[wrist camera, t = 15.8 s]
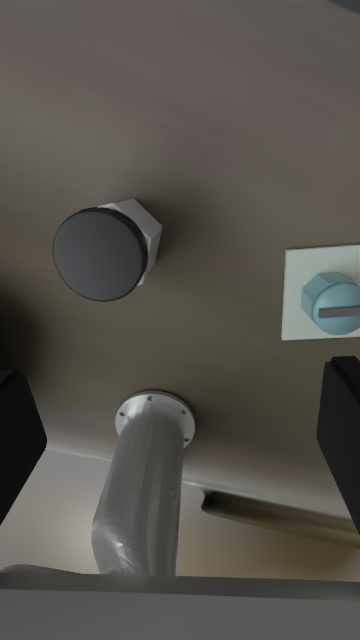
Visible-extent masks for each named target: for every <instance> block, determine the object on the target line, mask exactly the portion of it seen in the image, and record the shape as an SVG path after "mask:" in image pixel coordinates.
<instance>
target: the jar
mask: <svg viewBox="0 0 360 640" xmlns="http://www.w3.org/2000/svg"><path fill="white" fill-rule="evenodd" d="M161 232H162V225H161V224H160V223H159V222H158V221H157V220H156V219H154V218H153V217H152V216H151V215H150V214H149V213H148V212H147V211H146V210H145V209H144V208H143V207H142V206H141V205H140V204H139V203H138V202H137V201H136V200H135V199H129V200H124V201H120V202H112V203H108V204H105V205H102V206H99V207H92V208H87V209H83V210H80V211H78V212H77V213H75V214H73V215H71V216H70V217H68V218H67V219H66V220H65V221H64V222H63V223H62V224H61V226H60V227H59V229H58V231H57V233H56V235H55V238H54V243H53V257H54V262H55V265H56V268H57V270H58V272H59V274H60V276H61V278H62V279H63V280H64V282H65V283H66V284H67V285H68V286H69V287H70V288H71V289H72V290H73V291H75V292H76V293H78V294H79V295H81V296H83V297H85V298H88V299H90V300H94V301H102V302H106V301H114V300H117V299H120V298H122V297H124V296H126V295H127V294H129V293H130V292H131V291H132V290H133V289H134V288H135V287H136V286H138V285H142V284H143V282H144V280H145V279H146V277H147V275H148V273H149V272H150V270H151V268H152V267H153V265H154V263H155V260H156V256H157V251H158V246H159V241H160V237H161Z"/></svg>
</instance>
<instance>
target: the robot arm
mask: <svg viewBox="0 0 360 640" xmlns="http://www.w3.org/2000/svg"><path fill="white" fill-rule="evenodd" d="M115 426H116V431H117V433H118V435H119V437H120V438H119V441H118V444H117V447H116V450H115V453H114V456H113V459H112V463H111V466H110V469H109V472H108V475H107V479H106V481H105V485H104V488H103V491H102V494H101V497H100V500H99V503H98V507H97V510H96V513H95V516H94V519H93V524H92V532H91V539H92V547H93V552H94V556H95V560H96V563H97V566H98V568H99V571H100V574H80V573H75V572H70V571H64V570H59V569H53V568H48V567H41V566H36V565H28V564H15V565H10V566H7V567H5V568H3V569H1V570H0V640H360V582H344V581H322V580H298V579H264V578H226V577H193V576H177V548H178V547H177V546H178V530H179V513H180V497H181V482H182V467H183V452H184V448H185V447H186V446H187V445H188V444H189V443H190V442H191V440H192V438H193V436H194V433H195V419H194V416H193V413H192V411H191V410H190V408H189V407H188V406H187V405H186V403H185V402H183V401H182V400H181V399H179V398H178V397H176V396H174V395H172V394H169V393H166V392H161V391H143V392H139V393H136V394H134V395H132V396H130V397H128V398H127V399H126V400H125V401H124V402H123V403H122V404H121V405H120V407H119V409H118V412H117V414H116V418H115ZM317 440H318V443H319V446H320V448H321V450H322V453H323V455H324V457H325V459H326V461H327V464H328V466H329V468H330V470H331V472H332V475H333V477H334V479H335V481H336V484H337V486H338V488H339V490H340V492H341V495H342V497H343V499H344V501H345V504H346V506H347V508H348V510H349V512H350V515H351V517H352V519H353V521H354V523H355V526H356V528H357V530H358V532H359V535H360V361H359V360H358V359H357V358H356V357H355V356H342V357H333V358H332V359H331V362H326V363H325V367H324V375H323V383H322V392H321V400H320V408H319V417H318V425H317ZM46 445H47V437H46V434H45V431H44V428H43V425H42V422H41V419H40V416H39V413H38V410H37V407H36V404H35V401H34V398H33V395H32V393H31V390H30V387H29V384H28V381H27V378H26V376H25V375H23V374H21V372H20V371H18V370H4V371H0V525H1V524H2V522H3V520H4V518H5V517H6V515H7V513H8V512H9V510H10V508H11V506H12V505H13V503H14V501H15V500H16V498H17V496H18V495H19V493H20V491H21V489H22V488H23V486H24V484H25V482H26V481H27V479H28V477H29V476H30V474H31V472H32V471H33V469H34V467H35V465H36V463H37V462H38V460H39V459H40V457H41V455H42V454H43V452H44V450H45V448H46Z"/></svg>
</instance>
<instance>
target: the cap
mask: <svg viewBox="0 0 360 640" xmlns="http://www.w3.org/2000/svg"><path fill="white" fill-rule="evenodd" d="M301 308H302V309H303V310H304V311H305V313H306V314H307V315H308V316H309V318H310V319H311V320H312V321H313V322H314V323H315V324H317V325H318V327H319V328H320V329H321V330H322V331H324V332H326V333H328V334H331V335H345V334H348V333H351V332H353V331H355V330H357V329H358V328H360V287H359V286H358V285H357V284H356V283H355V282H354V281H352V280H351V279H349V278H348V277H346V276H345V275H343V274H342V273H340V272H327V273H318V274H316V275H315V276H314V277H313V278H312V279H311V280H310V281H309V282H308V283H307V284H306V285H305V286H304V287H302V292H301Z"/></svg>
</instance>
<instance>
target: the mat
mask: <svg viewBox="0 0 360 640" xmlns="http://www.w3.org/2000/svg"><path fill="white" fill-rule="evenodd" d="M327 272H340V273H342V274H343V275H345V276H346V277H348V278H349V279H351V280H352V281H354V282H355V283H356V284H357V285H358V286H359V287H360V244H357V245H344V246H330V247H316V248H303V249H289V250H286V258H285V278H284V297H283V317H282V337H281V338H282V340H298V339H319V338H341V337H360V328H358V329H357V330H355V331H353V332H351V333H348V334H345V335H331V334H328V333H326V332H324V331H322V330H321V329H320V328H319V327H318V325H317V324H315V323H314V322H313V321H312V320H311V319H310V318H309V316H308V315H307V314H306V313H305V311H304V310H303V309H302V308H301V292H302V287H304V286H305V285H306V284H307V283H308V282H309V281H310V280H311V279H312V278H313V277H314V276H315V275H316V274H318V273H327Z"/></svg>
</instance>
